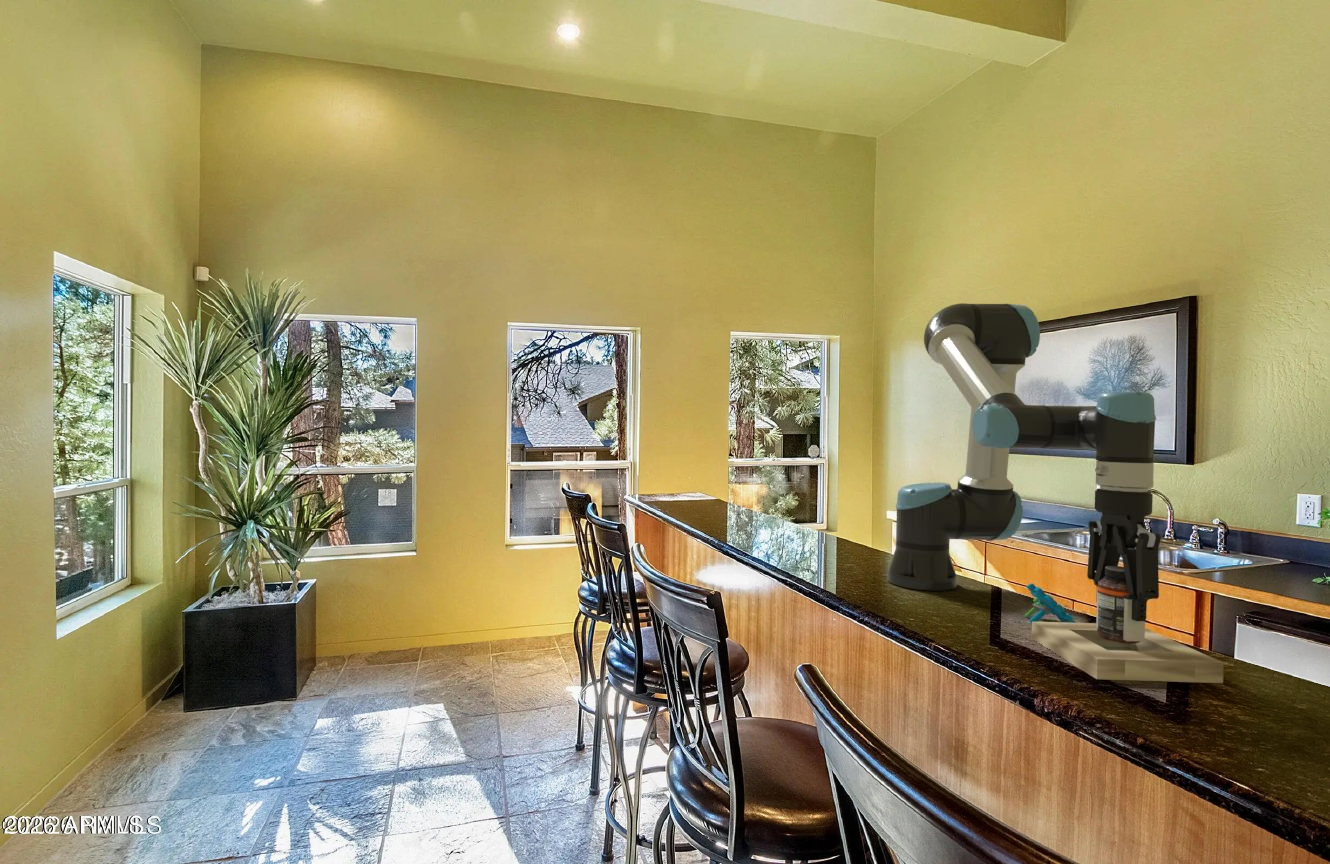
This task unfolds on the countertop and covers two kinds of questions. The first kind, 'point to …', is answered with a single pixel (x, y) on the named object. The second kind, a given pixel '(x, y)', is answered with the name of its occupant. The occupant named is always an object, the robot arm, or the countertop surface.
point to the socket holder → (1127, 655)
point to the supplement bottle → (1112, 605)
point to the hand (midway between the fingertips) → (1119, 633)
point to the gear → (1046, 606)
